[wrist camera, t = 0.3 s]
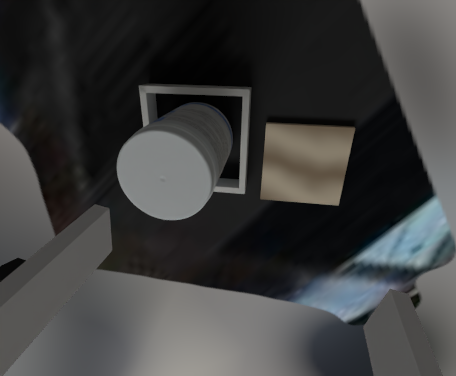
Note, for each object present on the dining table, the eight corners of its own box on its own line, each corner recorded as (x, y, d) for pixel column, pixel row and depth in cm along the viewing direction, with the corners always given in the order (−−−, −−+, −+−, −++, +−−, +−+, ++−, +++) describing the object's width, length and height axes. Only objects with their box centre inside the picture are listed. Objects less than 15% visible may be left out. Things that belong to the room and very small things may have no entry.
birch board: (266, 122, 36) (266, 123, 36) (353, 126, 35) (355, 127, 34) (260, 196, 41) (260, 198, 40) (337, 202, 40) (338, 205, 39)
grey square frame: (148, 83, 36) (138, 85, 34) (251, 87, 35) (249, 89, 32) (157, 178, 42) (150, 186, 40) (246, 185, 41) (244, 193, 38)
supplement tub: (178, 89, 36) (125, 107, 23) (244, 117, 37) (229, 151, 23) (160, 154, 41) (106, 200, 27) (219, 179, 41) (194, 236, 28)
